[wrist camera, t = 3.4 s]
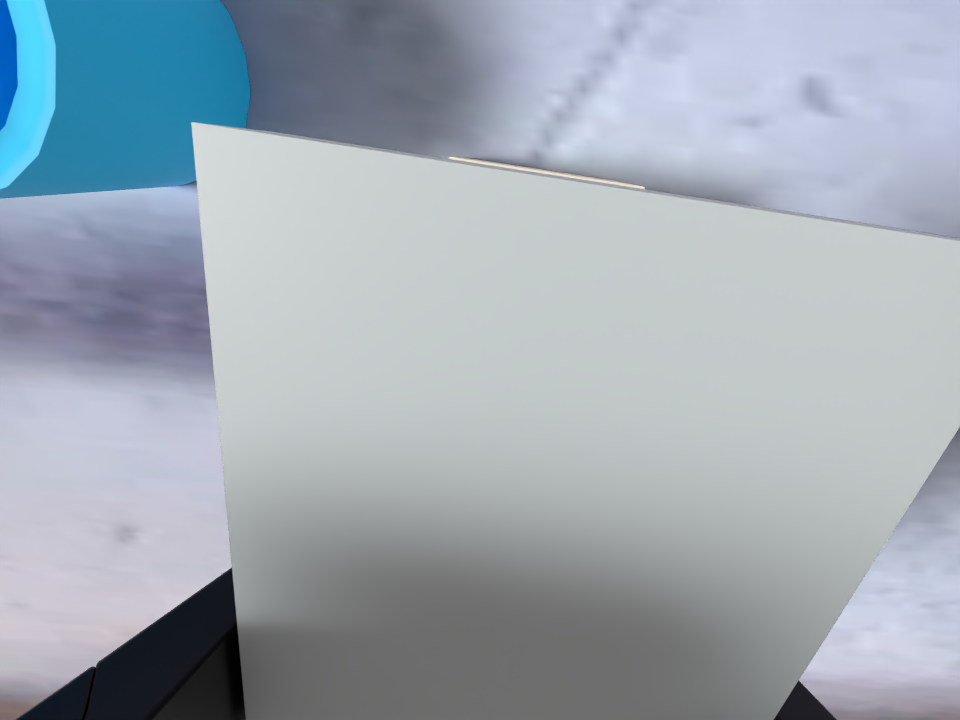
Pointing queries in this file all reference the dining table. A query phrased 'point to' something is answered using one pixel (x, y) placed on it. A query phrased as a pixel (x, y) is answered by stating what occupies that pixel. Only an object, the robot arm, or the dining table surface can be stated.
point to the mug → (113, 91)
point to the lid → (552, 432)
